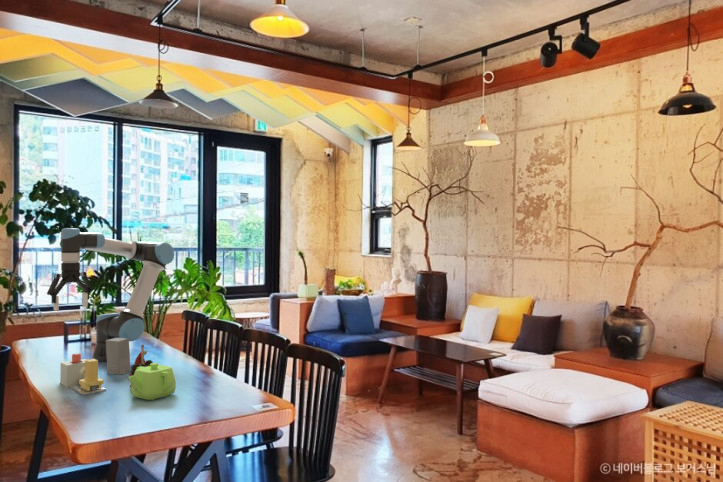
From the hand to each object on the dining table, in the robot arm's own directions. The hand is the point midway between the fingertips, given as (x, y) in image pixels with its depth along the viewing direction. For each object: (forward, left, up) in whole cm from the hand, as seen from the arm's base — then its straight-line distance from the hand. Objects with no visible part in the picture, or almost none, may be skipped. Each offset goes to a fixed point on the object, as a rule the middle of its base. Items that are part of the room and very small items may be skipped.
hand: (70, 308), depth 250 cm
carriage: (+4, +35, -28) cm, 45 cm away
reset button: (+4, +19, -22) cm, 29 cm away
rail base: (+4, +31, -30) cm, 43 cm away
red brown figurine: (-13, +44, -30) cm, 55 cm away
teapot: (-9, +59, -30) cm, 67 cm away
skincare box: (-16, +13, -30) cm, 36 cm away
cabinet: (+4, +19, -30) cm, 35 cm away
